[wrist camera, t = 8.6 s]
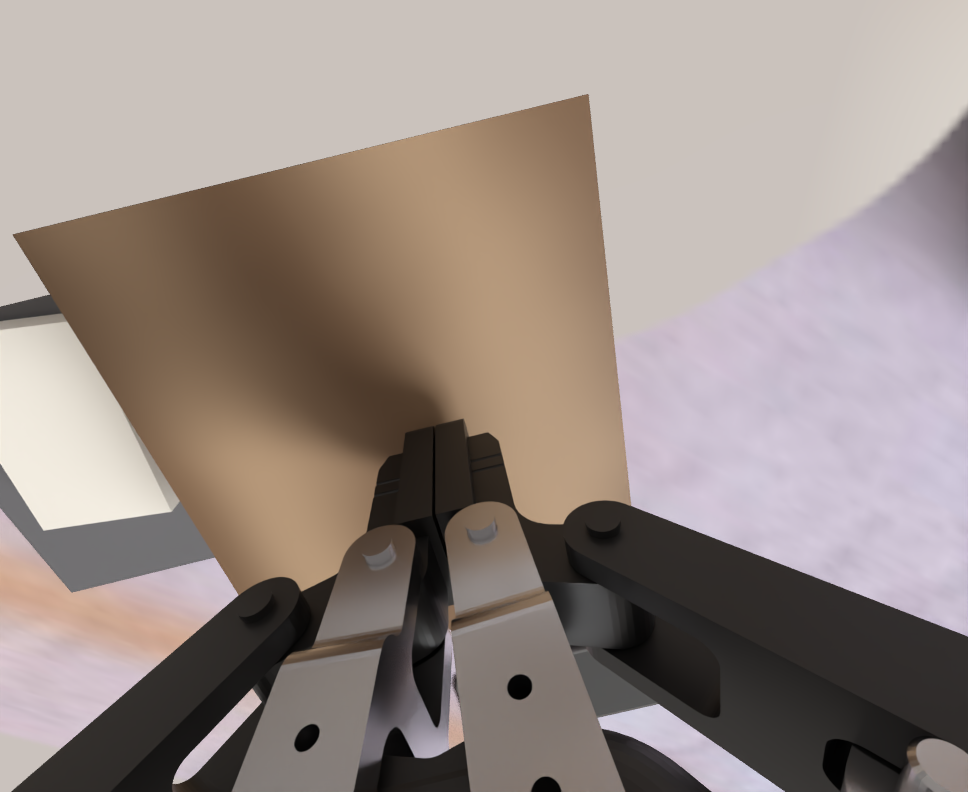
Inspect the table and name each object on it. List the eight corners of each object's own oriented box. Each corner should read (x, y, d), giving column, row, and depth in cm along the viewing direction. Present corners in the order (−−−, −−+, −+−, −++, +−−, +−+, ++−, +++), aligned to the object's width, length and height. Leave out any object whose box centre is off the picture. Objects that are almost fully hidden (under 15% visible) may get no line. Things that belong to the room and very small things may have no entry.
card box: (-80, 340, 15) (-26, 323, 17) (43, 530, 19) (77, 499, 20) (78, 320, 16) (115, 305, 17) (171, 511, 19) (194, 483, 21)
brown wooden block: (520, 132, 17) (588, 93, 9) (572, 455, 23) (639, 582, 15) (194, 212, 17) (11, 234, 9) (332, 514, 23) (286, 670, 15)
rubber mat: (213, 254, 17) (208, 256, 17) (335, 522, 23) (334, 527, 22) (-129, 338, 17) (-140, 341, 17) (77, 586, 23) (71, 592, 22)
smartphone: (449, 679, 28) (694, 623, 28) (449, 664, 29) (687, 609, 29) (476, 747, 31) (696, 697, 31) (475, 732, 32) (690, 683, 32)
